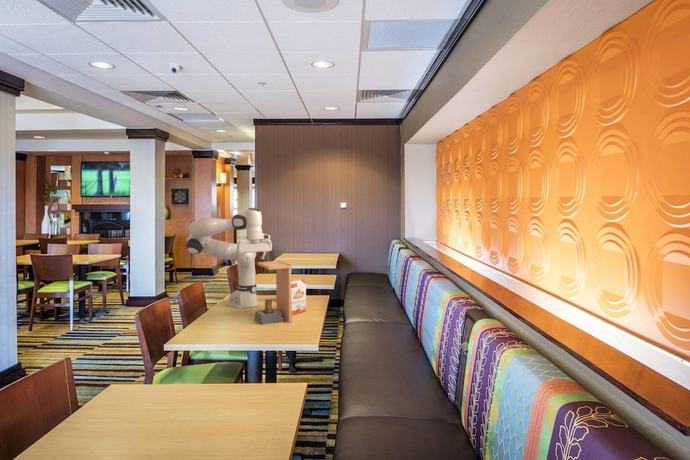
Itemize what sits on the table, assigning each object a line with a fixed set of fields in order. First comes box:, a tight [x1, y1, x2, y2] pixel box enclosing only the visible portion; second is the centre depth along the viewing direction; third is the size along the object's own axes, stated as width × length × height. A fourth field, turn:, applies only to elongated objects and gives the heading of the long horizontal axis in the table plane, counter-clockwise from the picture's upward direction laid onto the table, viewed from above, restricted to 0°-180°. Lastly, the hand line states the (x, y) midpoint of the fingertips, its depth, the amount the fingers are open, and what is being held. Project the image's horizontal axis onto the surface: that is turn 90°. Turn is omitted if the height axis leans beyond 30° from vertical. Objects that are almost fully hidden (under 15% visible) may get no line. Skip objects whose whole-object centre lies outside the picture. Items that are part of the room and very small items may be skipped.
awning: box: [256, 260, 293, 324], centre depth 244 cm, size 13×20×33 cm, turn 30°
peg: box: [264, 299, 273, 314], centre depth 243 cm, size 4×4×12 cm
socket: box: [254, 308, 283, 325], centre depth 243 cm, size 12×12×5 cm
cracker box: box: [291, 277, 307, 316], centre depth 259 cm, size 14×6×21 cm, turn 143°
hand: (254, 259), depth 244 cm, fingers open, 8 cm apart
